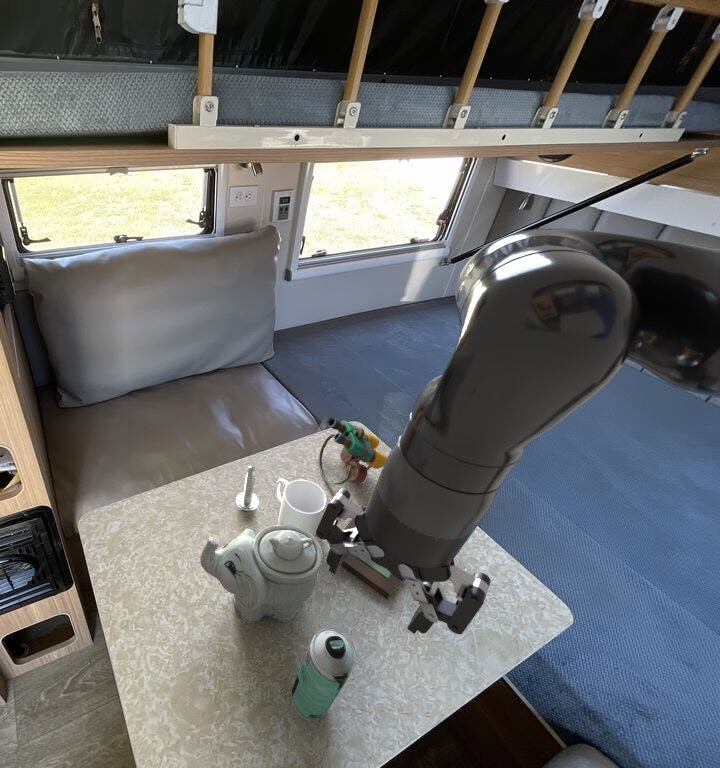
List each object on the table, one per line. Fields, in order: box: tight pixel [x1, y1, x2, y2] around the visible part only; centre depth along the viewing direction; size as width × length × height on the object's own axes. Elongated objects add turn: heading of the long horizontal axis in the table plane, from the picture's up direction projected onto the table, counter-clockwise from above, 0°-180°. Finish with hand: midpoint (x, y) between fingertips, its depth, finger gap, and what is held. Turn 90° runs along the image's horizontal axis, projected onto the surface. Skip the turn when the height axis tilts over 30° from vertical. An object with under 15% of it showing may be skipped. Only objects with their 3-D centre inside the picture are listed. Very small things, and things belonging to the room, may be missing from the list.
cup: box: [274, 478, 328, 538], centre depth 83 cm, size 8×12×10 cm
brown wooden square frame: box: [340, 505, 400, 601], centre depth 78 cm, size 12×12×5 cm
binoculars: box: [318, 416, 388, 486], centre depth 94 cm, size 14×14×15 cm
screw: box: [235, 465, 259, 513], centre depth 85 cm, size 13×5×5 cm
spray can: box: [290, 628, 356, 722], centre depth 55 cm, size 6×6×20 cm
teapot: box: [199, 524, 324, 623], centre depth 68 cm, size 16×15×19 cm
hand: (372, 594), depth 42 cm, fingers open, 8 cm apart
